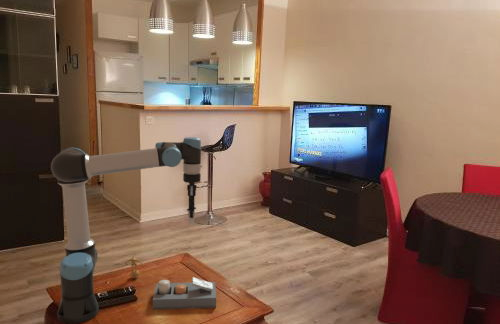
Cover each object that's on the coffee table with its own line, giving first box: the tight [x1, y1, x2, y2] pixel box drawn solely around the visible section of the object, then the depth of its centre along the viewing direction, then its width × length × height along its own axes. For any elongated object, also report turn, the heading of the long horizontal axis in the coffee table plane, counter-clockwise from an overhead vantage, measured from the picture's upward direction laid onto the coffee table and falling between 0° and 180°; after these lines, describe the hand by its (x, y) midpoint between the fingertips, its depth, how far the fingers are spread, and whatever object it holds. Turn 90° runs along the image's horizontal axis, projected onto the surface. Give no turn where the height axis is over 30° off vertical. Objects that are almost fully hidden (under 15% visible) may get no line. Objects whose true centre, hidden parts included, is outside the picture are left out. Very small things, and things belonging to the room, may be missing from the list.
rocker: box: [191, 276, 213, 292], centre depth 172 cm, size 9×6×2 cm, turn 97°
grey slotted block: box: [152, 281, 217, 311], centre depth 172 cm, size 26×14×6 cm, turn 97°
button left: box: [158, 279, 171, 295], centre depth 170 cm, size 5×5×4 cm
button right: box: [175, 284, 186, 294], centre depth 171 cm, size 5×5×4 cm
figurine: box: [125, 255, 144, 279], centre depth 188 cm, size 8×6×12 cm
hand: (191, 223), depth 179 cm, fingers closed
